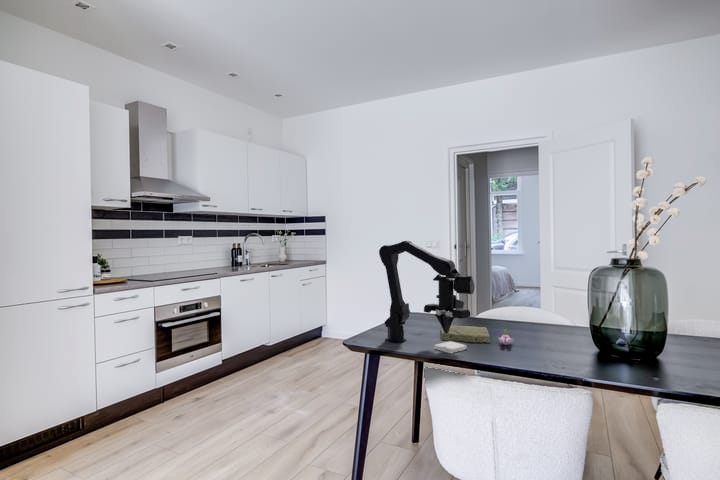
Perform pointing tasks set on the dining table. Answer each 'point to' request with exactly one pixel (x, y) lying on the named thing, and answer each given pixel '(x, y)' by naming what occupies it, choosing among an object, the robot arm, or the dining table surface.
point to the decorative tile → (466, 334)
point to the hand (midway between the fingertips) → (446, 333)
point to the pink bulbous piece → (505, 338)
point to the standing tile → (450, 347)
